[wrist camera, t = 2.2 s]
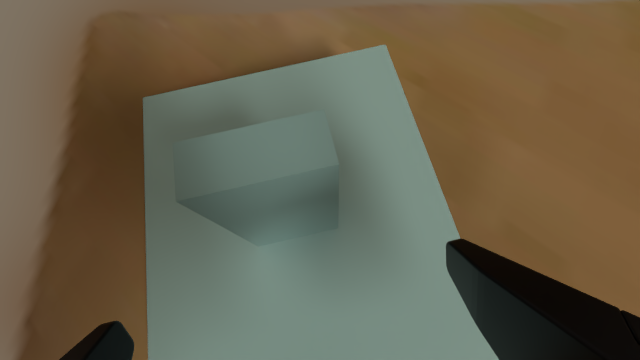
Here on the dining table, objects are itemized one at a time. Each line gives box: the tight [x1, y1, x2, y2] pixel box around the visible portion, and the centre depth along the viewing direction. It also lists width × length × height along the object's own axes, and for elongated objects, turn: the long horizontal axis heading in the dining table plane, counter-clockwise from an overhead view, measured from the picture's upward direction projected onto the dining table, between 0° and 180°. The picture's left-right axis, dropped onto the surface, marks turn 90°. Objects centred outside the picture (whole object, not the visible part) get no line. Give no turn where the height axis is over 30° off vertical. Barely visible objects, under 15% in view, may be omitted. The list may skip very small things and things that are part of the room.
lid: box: [143, 45, 499, 360], centre depth 12 cm, size 19×15×10 cm
